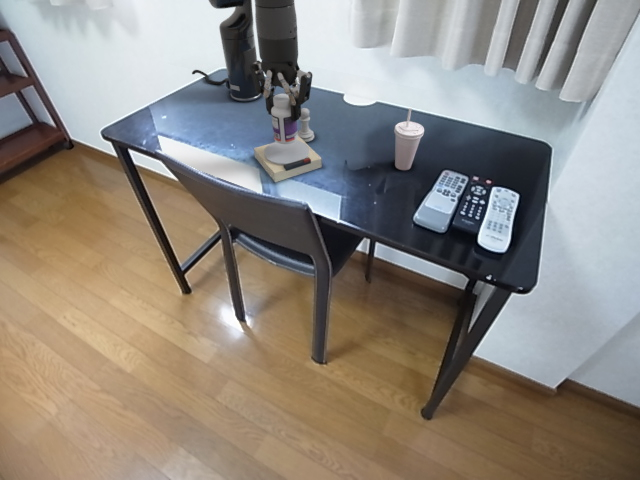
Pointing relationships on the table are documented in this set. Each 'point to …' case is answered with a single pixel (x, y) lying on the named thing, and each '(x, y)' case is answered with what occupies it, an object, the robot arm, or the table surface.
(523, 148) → the table surface
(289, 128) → the pill bottle
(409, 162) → the smoothie
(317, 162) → the scale
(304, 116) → the chess piece
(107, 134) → the table surface
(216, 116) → the table surface
